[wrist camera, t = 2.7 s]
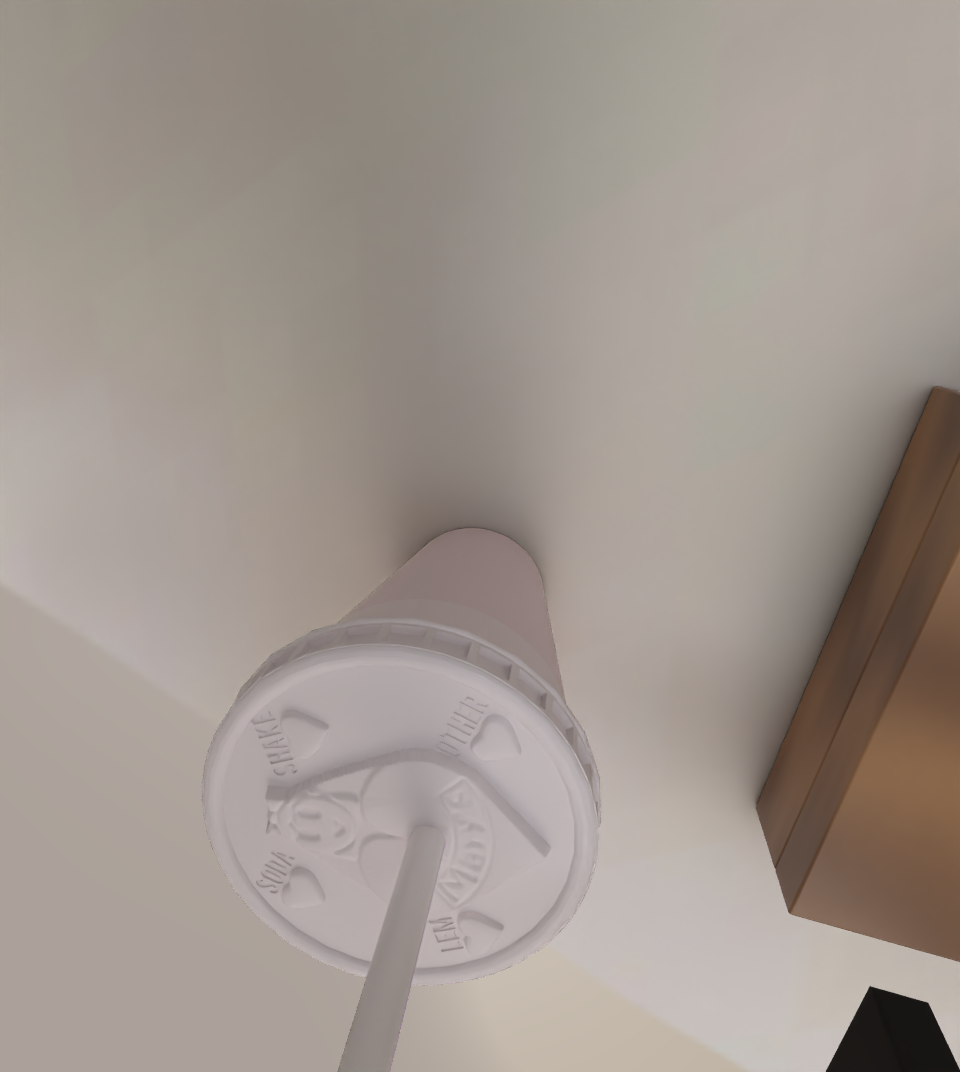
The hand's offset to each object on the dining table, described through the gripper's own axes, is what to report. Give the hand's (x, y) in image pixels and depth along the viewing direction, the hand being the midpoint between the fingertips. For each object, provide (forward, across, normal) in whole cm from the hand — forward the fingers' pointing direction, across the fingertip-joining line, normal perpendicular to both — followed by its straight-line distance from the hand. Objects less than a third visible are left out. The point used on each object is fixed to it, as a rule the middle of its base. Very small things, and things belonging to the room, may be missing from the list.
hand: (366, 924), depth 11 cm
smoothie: (+12, 0, 0) cm, 12 cm away
